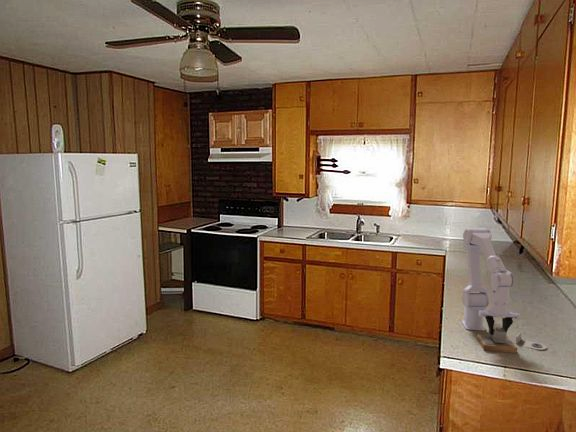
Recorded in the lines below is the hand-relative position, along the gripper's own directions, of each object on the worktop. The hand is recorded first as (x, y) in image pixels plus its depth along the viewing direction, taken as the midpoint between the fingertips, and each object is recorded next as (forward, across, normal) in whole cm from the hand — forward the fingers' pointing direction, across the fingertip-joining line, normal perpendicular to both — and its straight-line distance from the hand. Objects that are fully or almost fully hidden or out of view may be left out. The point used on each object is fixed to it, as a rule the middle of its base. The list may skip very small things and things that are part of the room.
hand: (497, 334), depth 163 cm
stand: (+5, 0, 0) cm, 5 cm away
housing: (+2, 0, 0) cm, 2 cm away
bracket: (+5, +14, +4) cm, 16 cm away
